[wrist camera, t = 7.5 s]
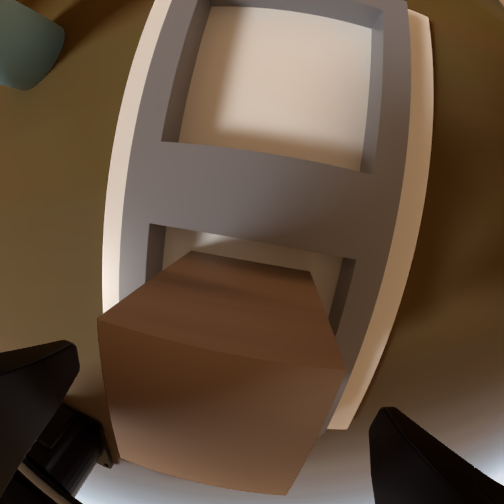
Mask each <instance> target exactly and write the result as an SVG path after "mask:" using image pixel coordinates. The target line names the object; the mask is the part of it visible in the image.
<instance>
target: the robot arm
mask: <svg viewBox="0 0 504 504" xmlns="http://www.w3.org/2000/svg"><path fill="white" fill-rule="evenodd" d="M79 369H80V364H79V358H78V352H77V347H76V345H75V344H74V343H72V342H69V341H67V340H60V341H56V342H51V343H47V344H42V345H37V346H32V347H27V348H22V349H17V350H12V351H7V352H2V353H0V504H82V503H81V502H80V501H78V500H77V499H75V496H76V494H77V493H78V491H79V490H80V488H81V486H82V485H83V483H84V482H85V480H86V479H87V477H88V475H89V474H90V472H91V471H92V469H93V467H94V466H95V464H96V463H98V464H100V465H102V466H104V467H107V468H109V469H111V468H112V466H113V463H112V460H111V456H110V453H109V450H108V447H107V444H106V440H105V437H104V433H103V429H102V426H101V425H100V424H99V423H98V422H97V421H95V420H93V419H91V418H88V417H86V416H84V415H82V414H80V413H78V412H76V411H74V410H72V409H70V408H68V407H66V406H64V405H63V404H61V402H62V401H63V399H64V397H65V395H66V393H67V392H68V390H69V388H70V386H71V385H72V383H73V381H74V379H75V378H76V376H77V374H78V372H79ZM369 445H370V464H371V478H372V485H373V492H374V498H375V504H504V486H503V485H501V484H499V483H498V482H496V481H494V480H493V479H491V478H490V477H488V476H487V475H485V474H484V473H482V472H481V471H480V470H478V469H477V468H474V466H472V465H471V464H470V463H468V462H467V461H466V460H464V459H463V458H461V457H460V456H459V455H457V454H456V453H455V452H453V451H452V450H451V449H449V448H448V447H447V446H445V445H444V444H443V443H441V442H440V441H439V440H437V439H436V438H435V437H433V436H432V435H431V434H429V433H428V432H427V431H425V430H424V429H423V428H421V427H420V426H419V425H417V424H416V423H415V422H414V421H412V420H411V419H410V418H408V417H407V416H406V415H405V414H403V413H402V412H401V411H399V410H398V409H397V408H395V407H382V408H381V409H380V410H379V411H378V413H377V415H376V417H375V419H374V420H373V422H372V424H371V426H370V428H369Z"/></svg>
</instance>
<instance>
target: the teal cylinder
mask: <svg viewBox="0 0 504 504" xmlns="http://www.w3.org/2000/svg"><path fill="white" fill-rule="evenodd" d="M64 39H65V32H64V29H63V28H62V27H61V26H59V25H58V24H56V23H54V22H53V21H51V20H49V19H48V18H46V17H44V16H43V15H41V14H39V13H37V12H36V11H34V10H32V9H30V8H28V7H27V6H25V5H23V4H21V3H19V2H17V1H15V0H0V84H1V85H5V86H9V87H12V88H16V89H20V90H28V89H31V88H33V87H34V86H36V85H37V84H38V83H39V82H40V81H41V80H42V79H43V78H44V77H45V76H46V75H47V74H48V72H49V71H50V70H51V68H52V67H53V65H54V64H55V62H56V60H57V58H58V56H59V54H60V52H61V50H62V47H63V44H64Z"/></svg>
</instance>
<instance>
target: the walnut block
mask: <svg viewBox="0 0 504 504" xmlns="http://www.w3.org/2000/svg"><path fill="white" fill-rule="evenodd" d="M97 330H98V341H99V350H100V358H101V366H102V373H103V380H104V386H105V392H106V398H107V403H108V408H109V413H110V418H111V422H112V427H113V431H114V435H115V439H116V443H117V447H118V450H119V454H120V458H122V459H125V460H127V461H130V462H132V463H135V464H138V465H141V466H143V467H146V468H149V469H152V470H155V471H158V472H161V473H165V474H168V475H171V476H175V477H178V478H182V479H186V480H190V481H194V482H198V483H202V484H207V485H212V486H217V487H222V488H227V489H233V490H240V491H246V492H254V493H263V494H273V495H287V493H288V491H289V489H290V488H291V486H292V484H293V483H294V481H295V479H296V477H297V476H298V474H299V472H300V470H301V468H302V467H303V465H304V463H305V461H306V459H307V457H308V455H309V453H310V451H311V449H312V447H313V445H314V443H315V441H316V439H317V437H318V435H319V433H320V431H321V429H322V427H323V425H324V423H325V420H326V418H327V416H328V414H329V411H330V409H331V407H332V405H333V402H334V400H335V398H336V395H337V393H338V390H339V388H340V385H341V383H342V380H343V378H344V375H345V373H346V368H345V365H344V362H343V359H342V356H341V353H340V350H339V348H338V345H337V342H336V339H335V336H334V334H333V331H332V328H331V325H330V323H329V320H328V317H327V315H326V312H325V309H324V307H323V304H322V301H321V299H320V296H319V294H318V291H317V288H316V286H315V283H314V281H313V278H312V276H311V273H310V271H304V270H299V269H293V268H287V267H281V266H275V265H270V264H264V263H258V262H253V261H247V260H241V259H236V258H230V257H224V256H219V255H213V254H208V253H202V252H197V251H190V252H188V253H187V254H185V255H184V256H183V257H181V258H180V259H178V260H177V261H175V262H174V263H173V264H171V265H170V266H168V267H167V268H165V269H164V270H163V271H161V272H160V273H158V274H157V275H156V276H154V277H153V278H151V279H150V280H149V281H147V282H146V283H144V284H143V285H142V286H140V287H139V288H137V289H136V290H135V291H133V292H132V293H131V294H129V295H128V296H126V297H125V298H124V299H122V300H121V301H120V302H118V303H117V304H116V305H114V306H113V307H112V308H110V309H109V310H108V311H106V312H105V313H103V314H102V315H101V316H99V317H98V318H97Z"/></svg>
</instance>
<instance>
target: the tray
mask: <svg viewBox="0 0 504 504" xmlns="http://www.w3.org/2000/svg"><path fill="white" fill-rule="evenodd" d="M433 100H434V87H433V59H432V45H431V35H430V26H429V19H428V17H426V16H424V15H422V14H419V13H417V12H415V11H412V10H410V9H408V7H407V2H406V1H403V0H155V2H154V4H153V7H152V9H151V11H150V14H149V17H148V19H147V22H146V24H145V27H144V30H143V33H142V35H141V38H140V41H139V44H138V47H137V50H136V53H135V57H134V60H133V63H132V67H131V70H130V74H129V77H128V81H127V85H126V88H125V92H124V96H123V101H122V105H121V109H120V114H119V118H118V123H117V128H116V133H115V139H114V144H113V150H112V157H111V163H110V170H109V178H108V186H107V195H106V205H105V217H104V232H103V257H102V295H103V313H105V312H106V311H108V310H109V309H110V308H112V307H113V306H114V305H116V304H117V303H118V302H120V301H121V300H122V299H124V298H125V297H126V296H128V295H129V294H131V293H132V292H133V291H135V290H136V289H137V288H139V287H140V286H142V285H143V284H144V283H146V282H147V281H149V280H150V279H151V278H153V277H154V276H156V275H157V274H158V273H160V272H161V271H163V270H164V269H165V268H167V267H168V266H170V265H171V264H173V263H174V262H175V261H177V260H178V259H180V258H181V257H183V256H184V255H185V254H187V253H188V252H190V251H197V252H202V253H208V254H213V255H219V256H224V257H230V258H236V259H241V260H247V261H253V262H258V263H264V264H270V265H275V266H281V267H287V268H293V269H299V270H304V271H310V273H311V276H312V278H313V281H314V283H315V286H316V288H317V291H318V294H319V296H320V299H321V301H322V304H323V307H324V309H325V312H326V315H327V317H328V320H329V323H330V325H331V328H332V331H333V334H334V336H335V339H336V342H337V345H338V348H339V350H340V353H341V356H342V359H343V362H344V365H345V368H346V373H345V375H344V378H343V380H342V383H341V385H340V388H339V390H338V393H337V395H336V398H335V400H334V402H333V405H332V407H331V409H330V411H329V414H328V416H327V418H326V420H325V423H324V425H323V427H322V429H321V431H320V433H319V435H318V436H323V435H324V433H325V431H326V429H346V430H347V428H348V427H349V425H350V423H351V421H352V419H353V417H354V415H355V413H356V411H357V409H358V407H359V405H360V403H361V401H362V399H363V397H364V395H365V392H366V390H367V388H368V386H369V384H370V381H371V379H372V377H373V375H374V372H375V370H376V368H377V365H378V363H379V360H380V358H381V355H382V353H383V350H384V348H385V345H386V343H387V340H388V337H389V334H390V332H391V329H392V326H393V323H394V320H395V317H396V314H397V311H398V308H399V305H400V302H401V299H402V295H403V292H404V289H405V285H406V282H407V278H408V275H409V271H410V267H411V263H412V259H413V255H414V251H415V247H416V242H417V238H418V233H419V228H420V223H421V218H422V213H423V207H424V201H425V195H426V188H427V181H428V174H429V165H430V155H431V144H432V130H433Z"/></svg>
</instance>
